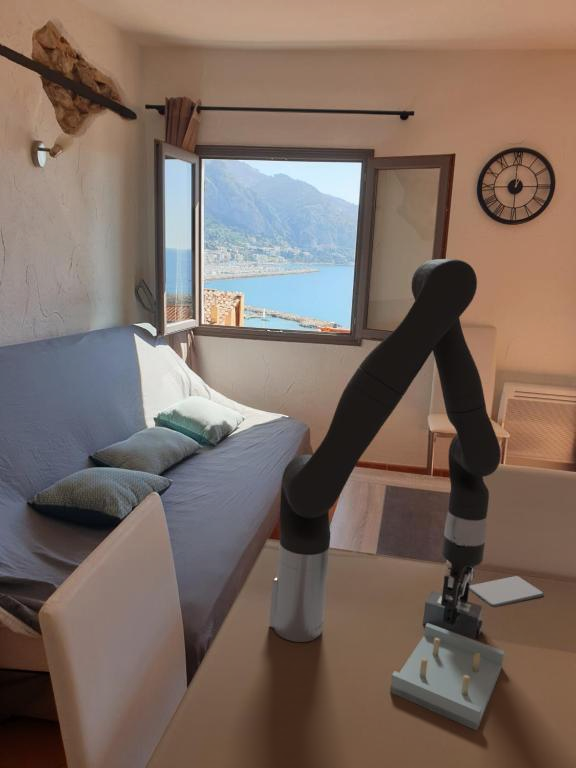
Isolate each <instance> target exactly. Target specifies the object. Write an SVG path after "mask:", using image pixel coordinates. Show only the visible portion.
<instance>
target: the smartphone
mask: <svg viewBox="0 0 576 768" xmlns="http://www.w3.org/2000/svg"><path fill="white" fill-rule="evenodd" d="M469 592H472V593H473V594H474V595H476V596H477V597H478V598H480V599H481V600H483V602H484V603H486V604H487V605H489V606H491V607H499V606H500V607H501V606H503V605H504V606H505V605H509V604H510V605H511V604H515V603H518V602H522V601H523V602H524V601H527V600H531V599H532V600H533V599H536V598H540V597H541V598H542V597H543V596H544V592H543V591H542V590H540V589H539V588H537V587H536V586H534V585H532V584H531V583H529V582H528V581H527V580H525V579H523V578H522V577H520V576H518V575H513V576H508V577H503V578H499V579H498V578H497V579H493V580H489V581H485V582H479V583H474V584H471V585H470V586H469Z"/></svg>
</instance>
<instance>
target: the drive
mask: <svg viewBox="0 0 576 768" xmlns="http://www.w3.org/2000/svg"><path fill="white" fill-rule="evenodd" d="M442 594H443V593H442V592H441V593H440V592H437V591H435V590H434V591H433V590H431V591H430V592H429V595H428V597H427V598H426V601H425V602H424V612H423V618H422V619H423V620H422V625H423V626H425V625H426V624H427V623H429V624H432V625H435V626H437V627H440V628H443V629H445V630H448V631H451V632H454V633H456V634H459V635H462V636H464V637H467V638H470V639H472V640H475V641H477V640H476V639H479V638H480V636H481V632H482V628H483V624H484V623H483V622H484V621H483V620H482V619H481V618H482V613H483V612H482V611H483V606H484V605H480V604H477V603H473V602H470V601H468V602H467V601H464V600H461V599H459V603H458V604H459V605H458V608H457V616H456V623H455V624H454V625H451V624H448V623H445V622H444V621H443V618H444V609H445V606H442V605H441V601H442ZM449 599H452V600H453V597H452V596H449Z"/></svg>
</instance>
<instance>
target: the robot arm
mask: <svg viewBox="0 0 576 768" xmlns="http://www.w3.org/2000/svg"><path fill="white" fill-rule="evenodd" d="M477 288H478V280H477V275H476V272H475V270H474V268H473V267H472V266H471V265H470V264H469V263H467V262H466V261H464V260H461V259H456V258H439V259H438V258H437V259H430V260H427V261H425V262H424V263H422V264H421V265H419V267H418V268H417V269H416V270H415V271H414V273H413V276H412V280H411V293H412V295H413V299H414V302H413V303H412V306H411V307H410V309H409V310H408V312H407V314H406V316H405V317H404V318H403V320H401V322H400V323H399V325H398V326H396V328H395V329H394V330H393V331H392V332H391V333H390V334H389V335H388V336H386V338H384V339H383V340H382V341H381V342H380V343H379V344H377V346H375V347H374V348H373V349H372V350H371V352H369V354H367V356H366V357H364V359H363V360H362V362H361V363H360V364H359V366H358V367H357V369H356V370H355V372H354V374H353V375H352V376H351V378H350V379H349V381H348V383H347V385H346V387H344V390H343V392H342V393H341V396H340V398H339V400H338V403H337V405H336V408H335V411H334V414H333V417H332V419H331V422H330V425H329V428H328V430H327V433H326V435H324V438H323V439H322V441H321V442H320V444H319V445H318V447H317V448H316V450H315V451H314V452H313V454H302V455H298V456H295V458H293V459H292V460H290V461H289V462H288V464H286V467H285V469H284V471H283V473H282V477H281V486H280V488H281V489H280V507H279V546H278V547H279V548H278V557H277V558H278V559H277V561H278V562H277V575H276V577H274V578H273V579H272V582H271V595H270V596H271V597H270V608H269V609H270V612H269V623H268V625H269V627H270V628H272V629H273V630H274V631H275V633H276V634H277V635H278V636H279V637H281V638H283V639H284V640H287V641H291V642H296V643H306V642H307V643H308V642H311V641H314V640H315V639H318V637H320V636H321V634H322V632H323V624H324V614H325V613H324V611H325V602H326V589H327V577H328V566H329V556H330V545H331V527H330V518H329V517H330V516H329V515H330V514H329V513H330V510H331V509H332V508H333V506H334V505H335V503H336V502H337V501H338V499H339V497H340V495H341V494H342V492H343V490H344V488H345V486H346V484H347V482H348V480H349V479H350V477H351V474H352V473H353V471H354V469H355V468H356V466H357V463H358V462H359V460H360V459H361V457H362V456H363V454H364V453H365V452H366V450H367V449H368V447H369V446H370V444H372V442H373V441H374V439H375V437H376V436H377V434H378V433H379V432H380V430H381V429H382V427H383V426H384V424H385V423H386V422H387V420H388V419H389V417H390V416H391V415H392V414H393V413H394V411H395V409H396V408H397V406H398V405H399V403H400V401H401V400H402V399H403V397H404V396H405V394H406V393H407V391H408V389H409V388H410V386H411V384H412V382H413V381H414V380H415V378H416V377H417V375H418V374H419V373H420V371H421V369H422V368H423V367H424V365H425V363H426V361H427V360H428V359H429V357H430V355H431V354H432V353H433V357H434V361H435V365H436V368H437V373H438V379H439V383H440V387H441V388H440V389H441V392H442V398H443V403H444V408H445V412H446V416H447V420H449V422H450V424H451V425H452V426H453V428H454V429H455V431H456V434H455V435H454V436H453V438H452V439H451V442H450V444H449V447H448V457H447V458H448V471H449V474H448V475H449V482H450V494H449V499H448V500H449V501H448V507H447V513H446V517H445V518H446V519H445V524H444V532H443V542H442V548H441V549H442V550H441V554H442V556H443V558H444V559H445V560H446V561H448V562H449V563H450V564H451V566H448V568H447V570H446V571H447V573H446V574H445V575H444V576H443V579H444V580H443V588H442V593H441V594H442V601H441V605H442V606H445V609H444V618H443V621H444V622H445V623H448V624H451V625H454V624H455V623H456V616H457V608H458V605H459V604H458V603H459V599H461V600H464V601H467V602H469V594H470V593H469V592H470V590H469V586H470V585H473V584H472V581H473V580H474V579H475V568H476V566H479V565H481V564H482V563H483V560H484V552H485V551H484V550H485V544H486V537H487V527H488V525H487V517H488V509H489V501H490V492H489V489H488V487H487V485H486V484H485V481H484V477H487V476H490V475H492V474H494V473H495V472H496V470H497V469H498V468H499V465H500V461H501V455H502V454H501V447H500V443H499V440H498V436H497V434H496V432H495V429H494V426H493V424H492V422H491V419H490V417H489V415H488V412H487V405H486V400H485V394H484V389H483V383H482V380H481V376H480V373H479V372H480V371H479V369H478V366H477V364H476V362H475V360H474V357H473V355H472V353H471V351H470V349H469V346H468V343H467V341H466V338H465V336H464V332H463V329H462V325H461V320H460V317H461V316H462V314H463V313H464V312H465V311H466V309H467V308H469V307H470V305H471V303H472V302H473V299H474V297H475V295H476V293H477ZM449 596H451V597H453V600H452V599H449Z"/></svg>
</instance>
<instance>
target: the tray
mask: <svg viewBox="0 0 576 768" xmlns="http://www.w3.org/2000/svg"><path fill="white" fill-rule="evenodd" d="M504 658H505V650H502V649H499V648H496V647H493V646H491V645H488V644H486V643H483V642H481V641H478V640H472V639H470V638H467V637H464V636H462V635H459V634H456V633H454V632H451V631H448V630H445V629H443V628H440V627H437V626H435V625H432V624H429V623H427V624H426V625H424V633H423V636H422V638H421V639H420V641H419V642H418V643H417V645H416V647H415V648H414V650H413V652H411V655H410V656H409V657H408V659H407V660H406V662H405V664H404V666H402V668H401V670H400V671H399V672H398V671H396V670H395V671H394V670H393V673H392V674H391V681H390V688H389V689H390V690H389V693H391V694H393V695H396V696H397V697H400V698H402V699H404V700H407V701H409V702H411V703H412V704H413V703H414V704H416V705H418V706H419V707H422V708H425V709H427V710H429V711H431V712H434V713H436V714H438V715H440V716H442V717H444V718H447V719H448V720H452V721H454V722H455V723H458V724H461V725H463V726H465V727H467V728H470V729H472V730H474V731H478V730H479V726H480V724H481V722H482V719H483V716H484V714H485V711H486V709H487V706H488V704H489V702H490V698H492V694H493V691H494V689H495V686H496V683H497V681H498V678H499V676H500V674H501V671H502V669H503V663H504Z"/></svg>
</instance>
